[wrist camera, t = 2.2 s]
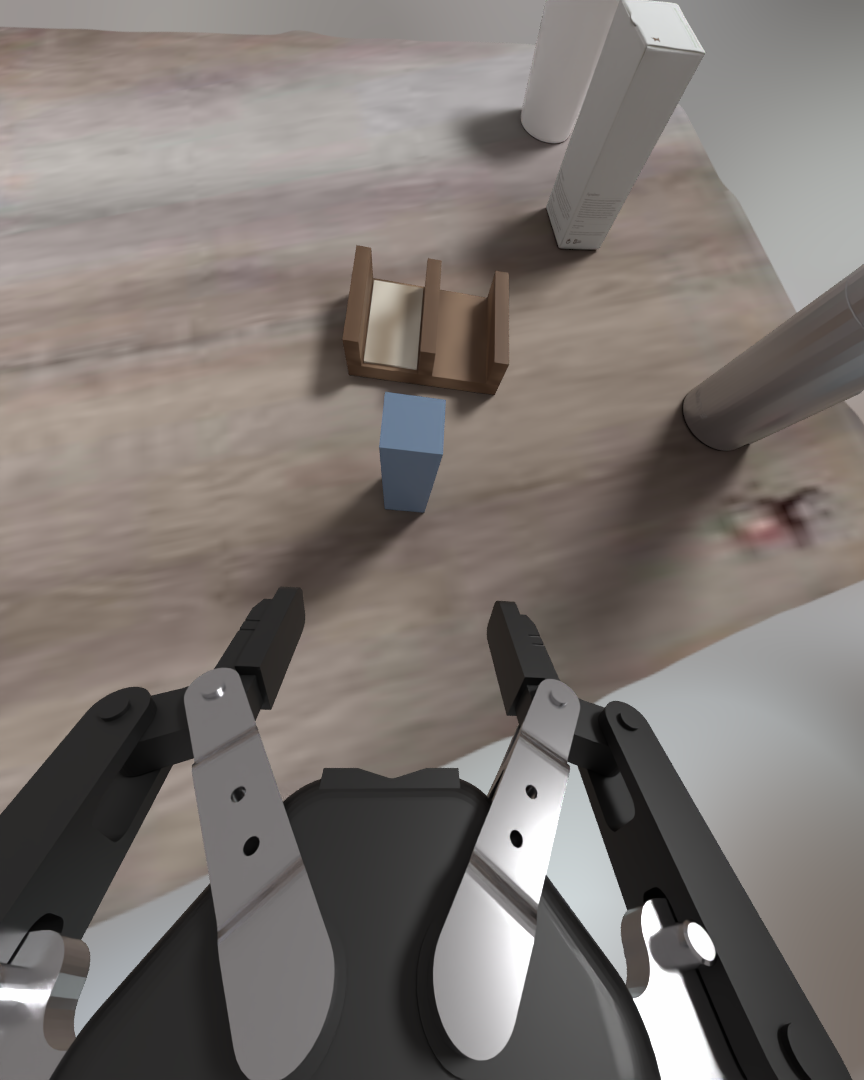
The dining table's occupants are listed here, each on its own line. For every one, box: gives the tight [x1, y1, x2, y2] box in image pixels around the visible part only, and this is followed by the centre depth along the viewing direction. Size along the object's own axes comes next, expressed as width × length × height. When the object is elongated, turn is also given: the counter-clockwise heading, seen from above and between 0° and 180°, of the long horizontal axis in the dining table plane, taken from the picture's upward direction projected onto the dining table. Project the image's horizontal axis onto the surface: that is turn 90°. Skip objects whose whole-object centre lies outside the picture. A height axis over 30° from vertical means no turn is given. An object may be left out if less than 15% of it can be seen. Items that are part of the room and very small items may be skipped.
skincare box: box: [546, 0, 705, 249], centre depth 35 cm, size 8×7×16 cm
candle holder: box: [521, 0, 620, 143], centre depth 41 cm, size 10×10×12 cm
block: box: [379, 392, 446, 513], centre depth 25 cm, size 4×4×12 cm
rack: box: [342, 245, 509, 395], centre depth 33 cm, size 16×12×4 cm
